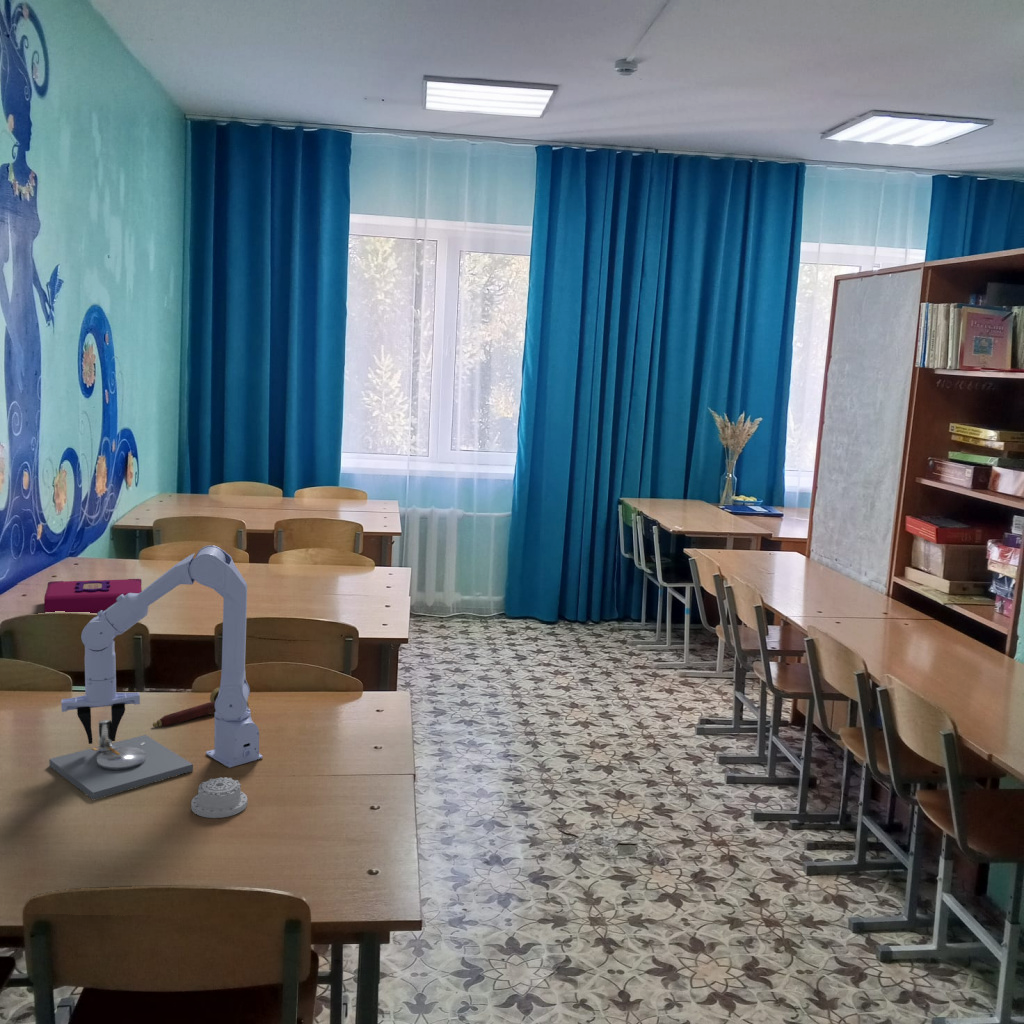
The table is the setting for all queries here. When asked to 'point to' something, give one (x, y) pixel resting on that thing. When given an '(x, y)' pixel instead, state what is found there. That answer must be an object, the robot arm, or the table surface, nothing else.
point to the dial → (116, 751)
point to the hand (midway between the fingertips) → (101, 740)
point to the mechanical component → (219, 798)
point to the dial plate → (106, 782)
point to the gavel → (190, 712)
